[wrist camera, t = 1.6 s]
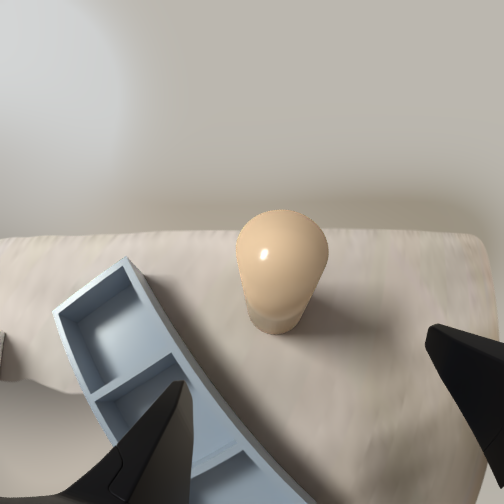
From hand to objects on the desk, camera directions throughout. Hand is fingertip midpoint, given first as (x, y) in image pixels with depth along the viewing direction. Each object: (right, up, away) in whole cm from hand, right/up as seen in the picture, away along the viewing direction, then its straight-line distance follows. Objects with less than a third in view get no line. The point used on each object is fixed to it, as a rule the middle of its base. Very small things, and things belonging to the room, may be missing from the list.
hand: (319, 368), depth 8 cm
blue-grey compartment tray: (-8, -9, +9) cm, 15 cm away
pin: (0, -1, +13) cm, 13 cm away
